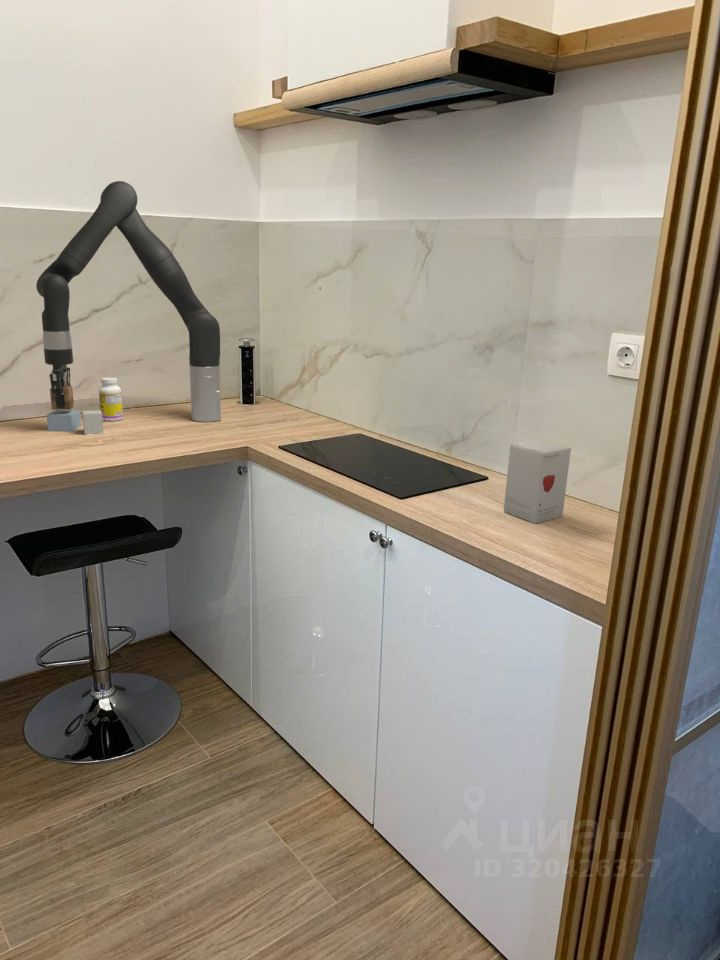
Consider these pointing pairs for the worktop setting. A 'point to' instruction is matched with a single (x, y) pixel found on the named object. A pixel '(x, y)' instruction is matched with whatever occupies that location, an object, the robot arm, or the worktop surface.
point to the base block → (63, 420)
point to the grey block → (92, 422)
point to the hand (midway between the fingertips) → (63, 405)
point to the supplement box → (536, 480)
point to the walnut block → (67, 398)
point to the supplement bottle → (110, 400)
